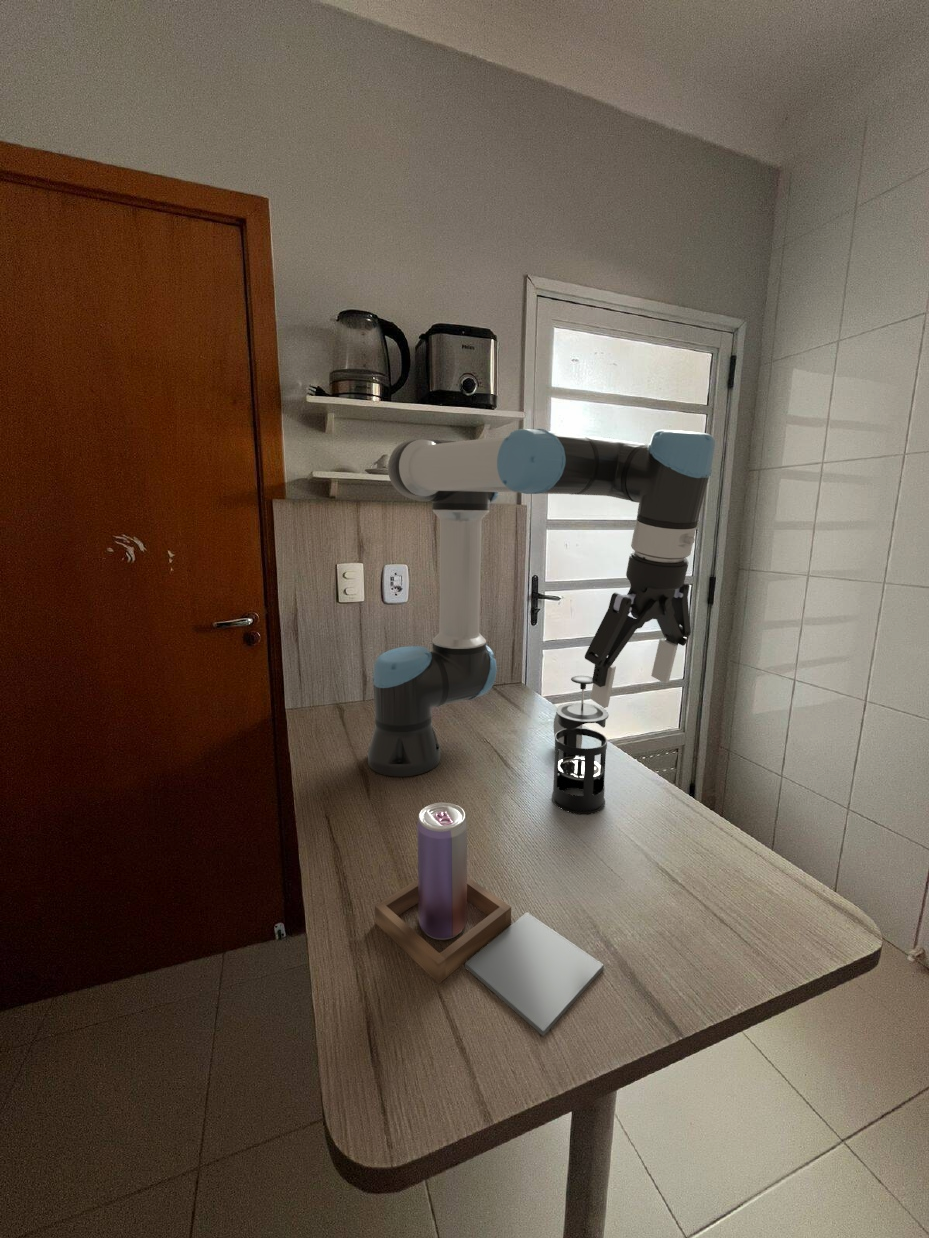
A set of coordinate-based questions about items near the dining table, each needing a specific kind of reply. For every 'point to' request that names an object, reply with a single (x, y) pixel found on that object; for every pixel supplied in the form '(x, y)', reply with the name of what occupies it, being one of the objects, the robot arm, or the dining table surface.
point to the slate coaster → (534, 971)
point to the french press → (574, 768)
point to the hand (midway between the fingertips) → (630, 690)
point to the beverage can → (442, 870)
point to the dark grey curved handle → (558, 728)
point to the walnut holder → (458, 951)
